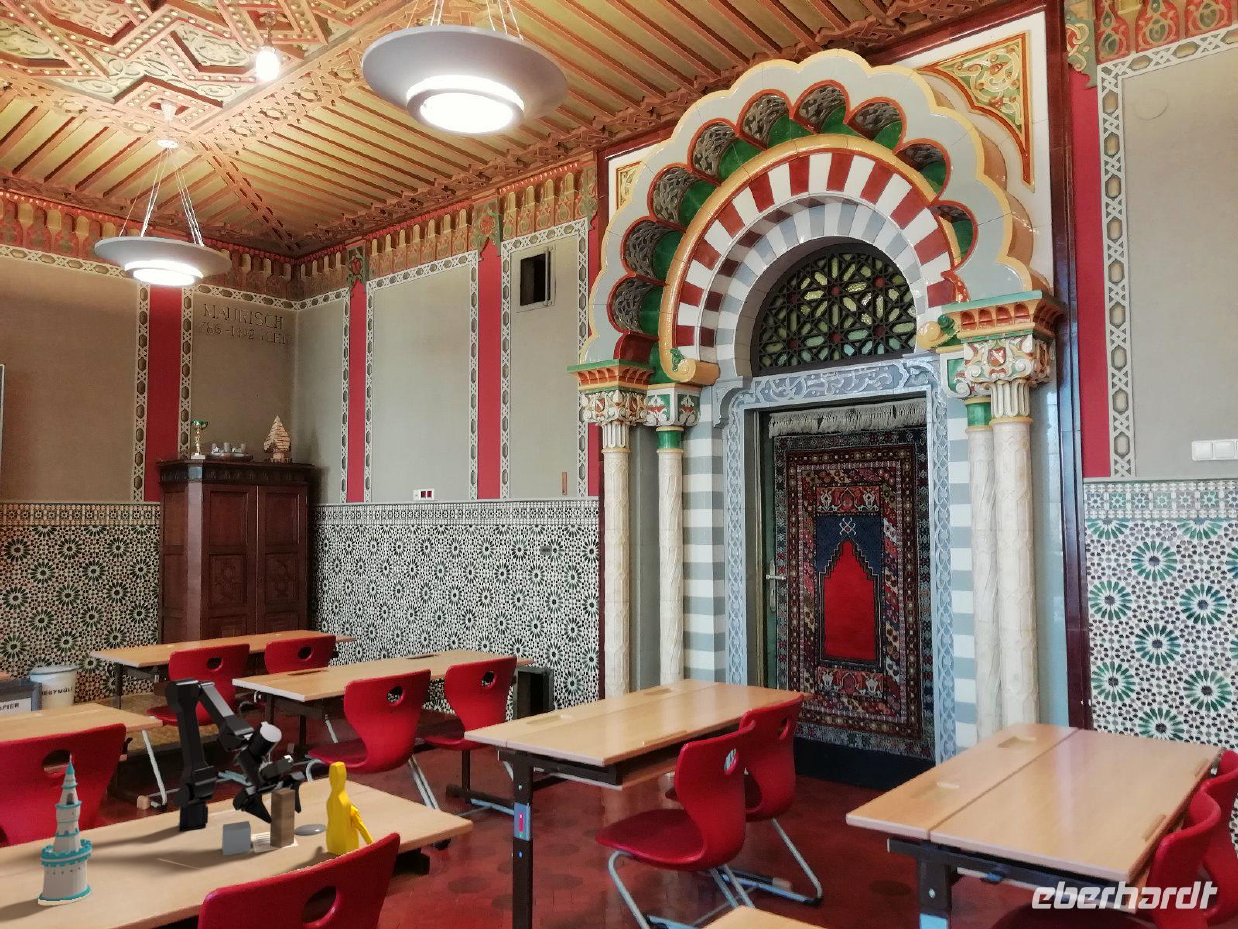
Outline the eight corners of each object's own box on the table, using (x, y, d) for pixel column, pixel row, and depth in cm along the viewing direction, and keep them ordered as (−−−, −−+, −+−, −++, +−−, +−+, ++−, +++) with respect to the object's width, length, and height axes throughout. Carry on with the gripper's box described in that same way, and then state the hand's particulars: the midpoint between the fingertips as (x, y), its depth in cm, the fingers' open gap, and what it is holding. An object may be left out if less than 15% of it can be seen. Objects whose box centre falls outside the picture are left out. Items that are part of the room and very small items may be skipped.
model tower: (86, 884, 198) (92, 747, 200) (95, 897, 190) (101, 754, 193) (33, 896, 191) (39, 754, 194) (41, 910, 183) (47, 762, 186)
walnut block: (269, 845, 221) (271, 792, 222) (282, 841, 224) (283, 788, 225) (281, 848, 219) (282, 794, 220) (294, 843, 222) (295, 790, 224)
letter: (255, 853, 216) (255, 852, 216) (249, 835, 229) (249, 834, 229) (298, 846, 221) (298, 845, 221) (290, 829, 234) (290, 828, 234)
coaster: (296, 838, 227) (296, 835, 227) (292, 829, 234) (292, 826, 234) (328, 833, 231) (328, 830, 231) (323, 824, 238) (323, 822, 238)
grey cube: (223, 857, 214) (224, 831, 215) (222, 849, 219) (222, 824, 220) (250, 853, 217) (250, 827, 217) (248, 845, 222) (248, 821, 223)
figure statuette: (380, 856, 214) (381, 762, 215) (353, 866, 207) (355, 769, 209) (333, 842, 224) (334, 753, 226) (306, 851, 217) (308, 759, 219)
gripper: (241, 755, 217) (272, 807, 211) (300, 739, 234) (330, 787, 228) (219, 784, 220) (248, 836, 214) (279, 767, 237) (308, 814, 231)
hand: (285, 817), depth 222 cm, fingers open, 9 cm apart
